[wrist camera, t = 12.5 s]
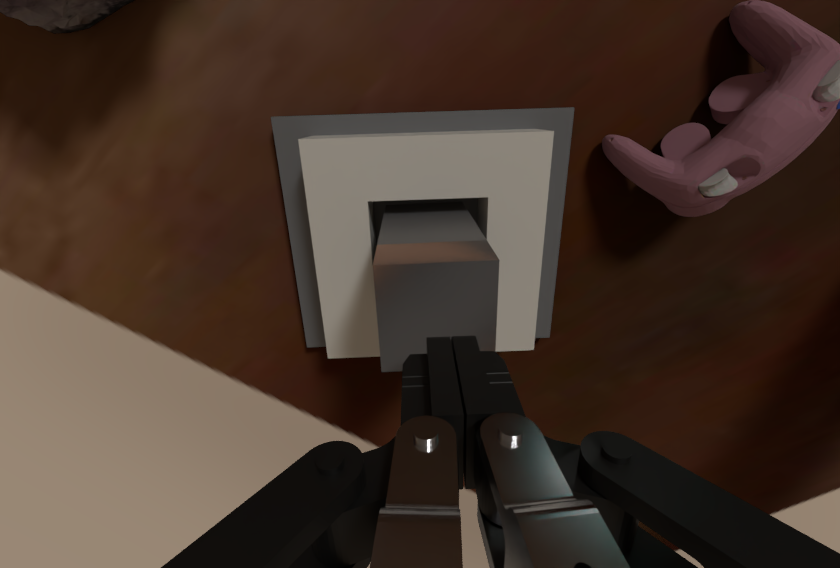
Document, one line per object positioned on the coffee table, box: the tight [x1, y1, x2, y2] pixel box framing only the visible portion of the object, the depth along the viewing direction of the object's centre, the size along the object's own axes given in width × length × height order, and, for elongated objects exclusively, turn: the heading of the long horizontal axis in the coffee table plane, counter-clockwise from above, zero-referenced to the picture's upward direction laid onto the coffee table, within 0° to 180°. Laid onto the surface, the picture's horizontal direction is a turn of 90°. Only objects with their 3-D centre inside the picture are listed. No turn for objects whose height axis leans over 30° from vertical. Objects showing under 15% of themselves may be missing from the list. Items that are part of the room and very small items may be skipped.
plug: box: [373, 202, 499, 372], centre depth 20 cm, size 4×4×10 cm
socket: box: [271, 107, 574, 359], centre depth 23 cm, size 16×14×4 cm
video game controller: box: [602, 0, 840, 217], centre depth 21 cm, size 10×5×7 cm, turn 138°
